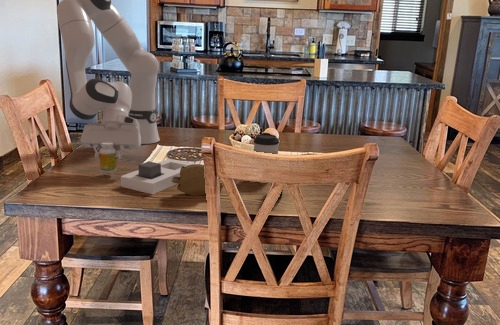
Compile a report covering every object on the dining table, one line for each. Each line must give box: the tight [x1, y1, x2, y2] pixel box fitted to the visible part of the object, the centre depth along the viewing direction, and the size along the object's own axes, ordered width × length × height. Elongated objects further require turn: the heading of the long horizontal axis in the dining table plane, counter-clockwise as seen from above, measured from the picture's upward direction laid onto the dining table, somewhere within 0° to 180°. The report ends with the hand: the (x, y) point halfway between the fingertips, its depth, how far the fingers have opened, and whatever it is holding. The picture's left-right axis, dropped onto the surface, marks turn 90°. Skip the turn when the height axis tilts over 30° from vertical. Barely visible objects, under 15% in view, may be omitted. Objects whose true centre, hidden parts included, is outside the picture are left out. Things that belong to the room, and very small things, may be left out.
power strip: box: [120, 158, 195, 195], centre depth 160 cm, size 13×25×7 cm, turn 151°
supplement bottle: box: [98, 141, 117, 173], centre depth 162 cm, size 5×5×10 cm
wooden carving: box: [172, 163, 224, 197], centre depth 148 cm, size 16×5×10 cm, turn 98°
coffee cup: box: [253, 132, 280, 155], centre depth 167 cm, size 9×9×15 cm
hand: (107, 158), depth 162 cm, fingers closed on supplement bottle, 5 cm apart
